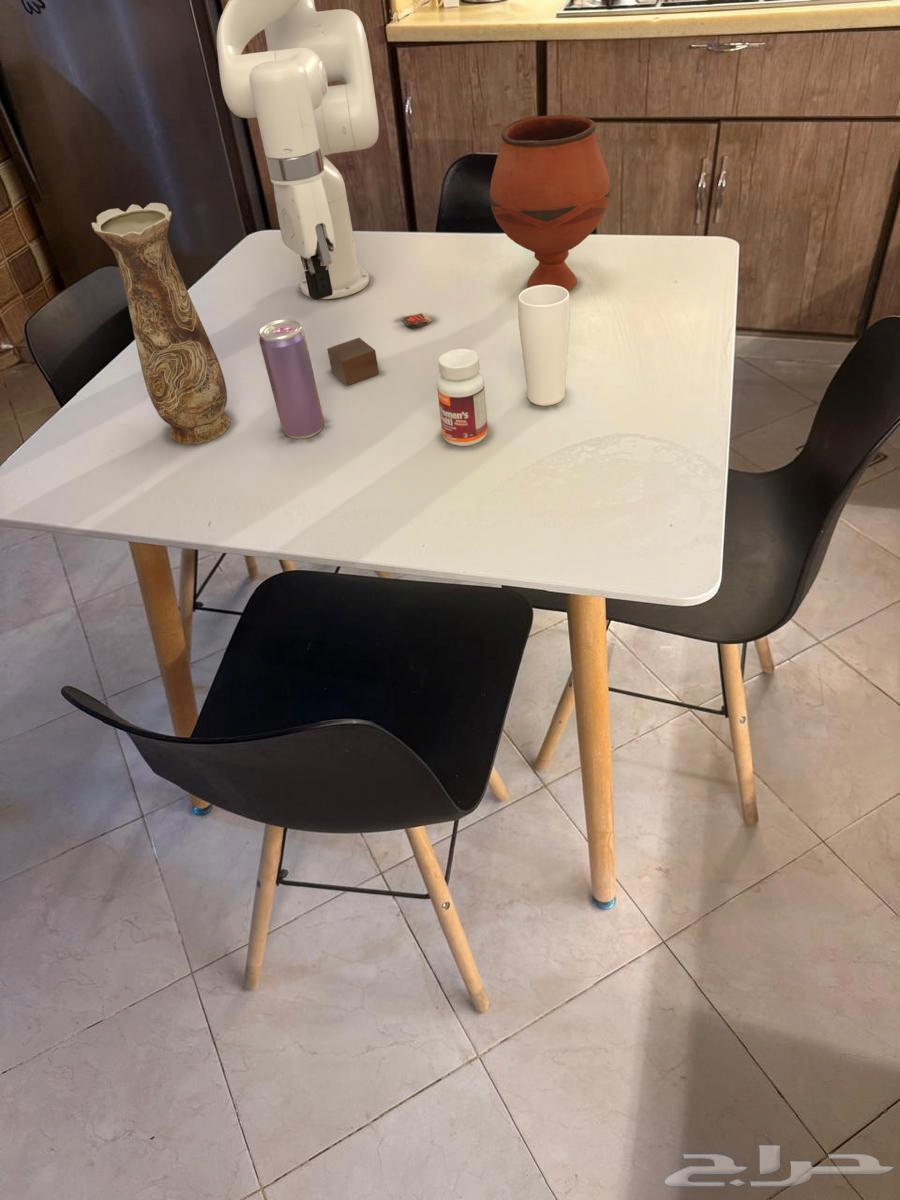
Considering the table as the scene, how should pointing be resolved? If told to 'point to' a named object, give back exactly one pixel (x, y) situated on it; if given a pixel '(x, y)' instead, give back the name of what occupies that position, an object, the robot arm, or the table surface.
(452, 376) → the pill bottle
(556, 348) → the drinking glass
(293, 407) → the beverage can
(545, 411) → the table surface
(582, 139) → the goblet
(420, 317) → the painted wall fragment
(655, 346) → the table surface
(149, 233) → the vase
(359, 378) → the walnut block
